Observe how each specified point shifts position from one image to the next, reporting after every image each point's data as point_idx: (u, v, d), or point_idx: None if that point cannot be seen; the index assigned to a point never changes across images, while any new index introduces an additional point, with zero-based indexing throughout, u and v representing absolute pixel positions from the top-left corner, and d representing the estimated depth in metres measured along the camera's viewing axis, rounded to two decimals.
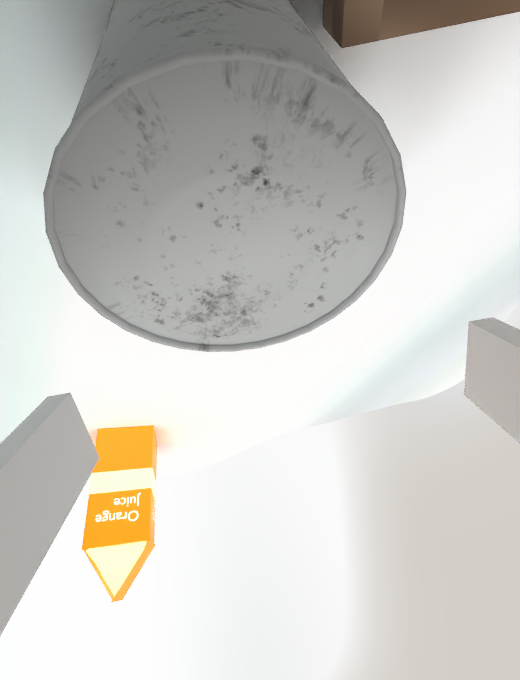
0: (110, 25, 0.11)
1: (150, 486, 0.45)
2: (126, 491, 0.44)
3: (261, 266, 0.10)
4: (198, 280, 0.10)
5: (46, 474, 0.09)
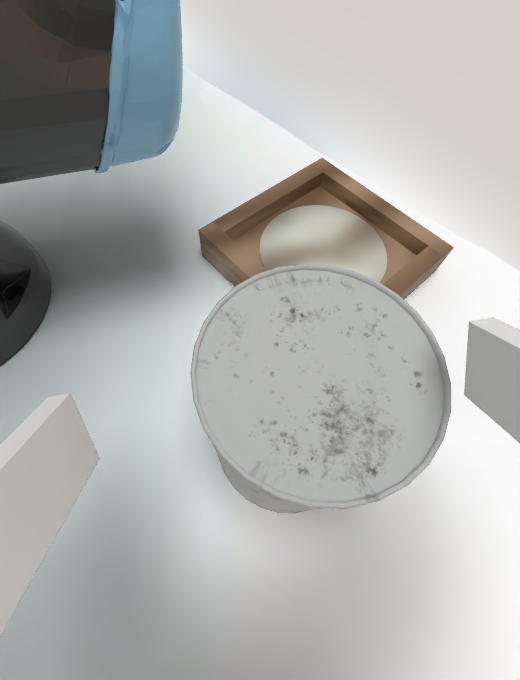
0: None
1: None
2: None
3: (344, 367, 0.13)
4: (308, 403, 0.12)
5: (46, 474, 0.09)
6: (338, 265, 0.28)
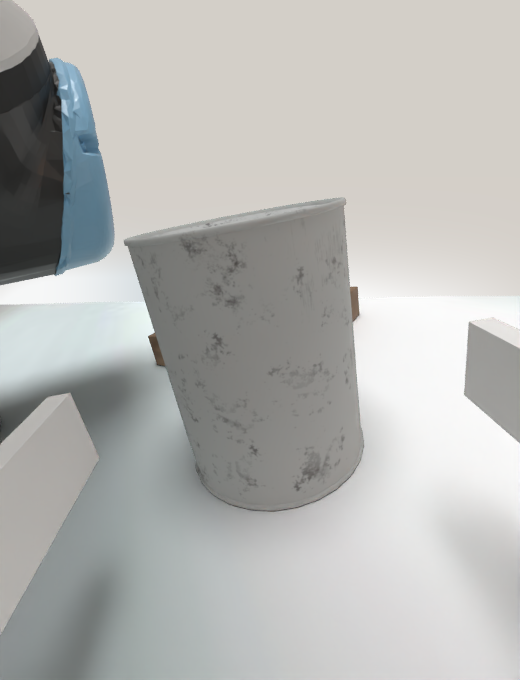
0: None
1: None
2: None
3: None
4: None
5: (46, 474, 0.09)
6: None
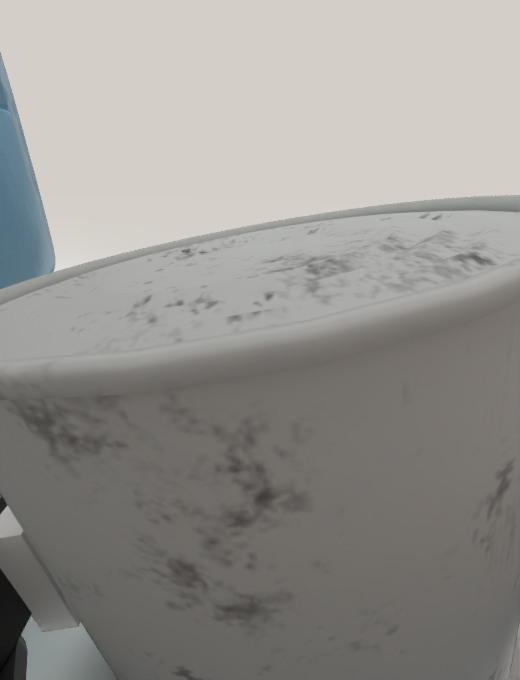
0: None
1: None
2: None
3: (291, 247, 0.07)
4: (234, 275, 0.05)
5: None
6: None
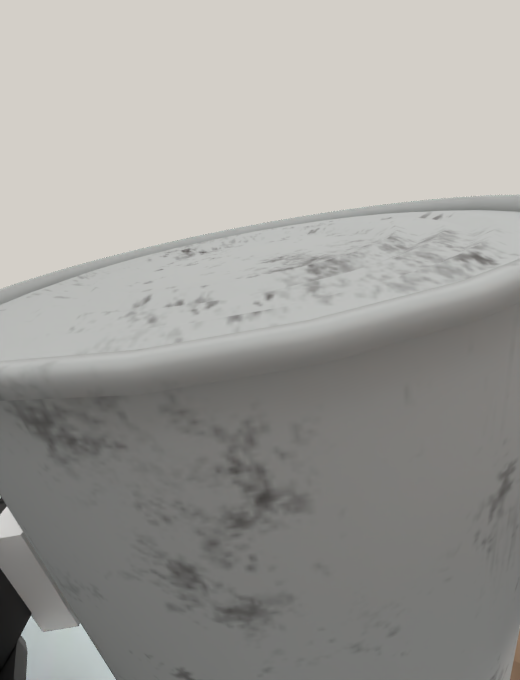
0: None
1: None
2: None
3: (292, 247, 0.07)
4: (234, 275, 0.05)
5: None
6: None
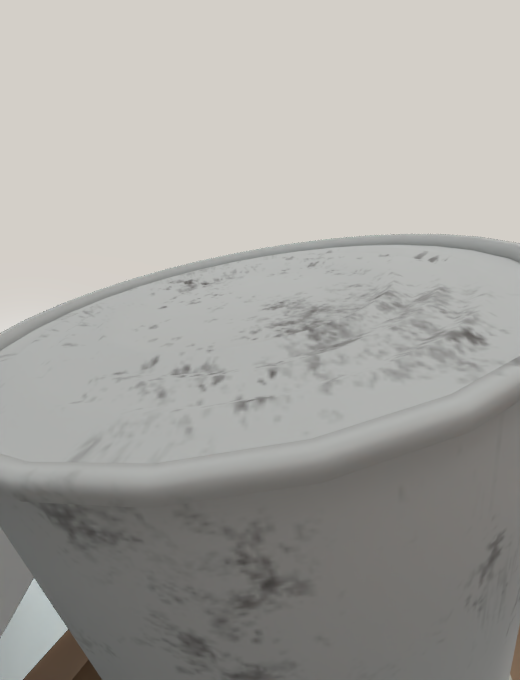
0: None
1: None
2: None
3: (292, 287, 0.07)
4: (237, 326, 0.05)
5: None
6: None
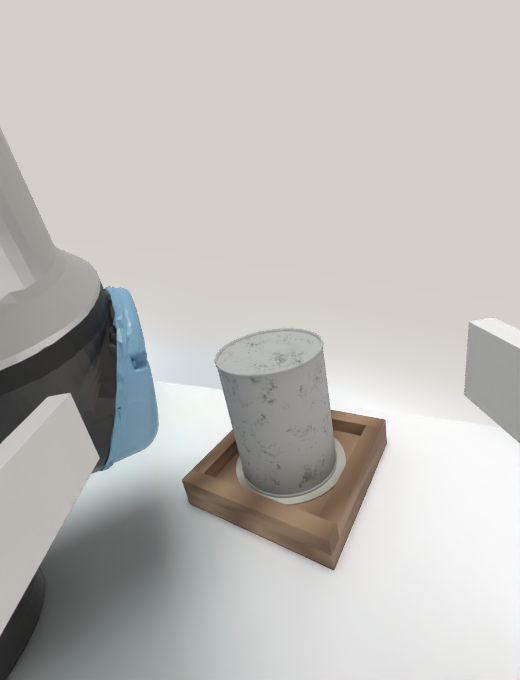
0: None
1: None
2: None
3: (278, 348, 0.30)
4: (267, 358, 0.28)
5: (46, 474, 0.09)
6: None
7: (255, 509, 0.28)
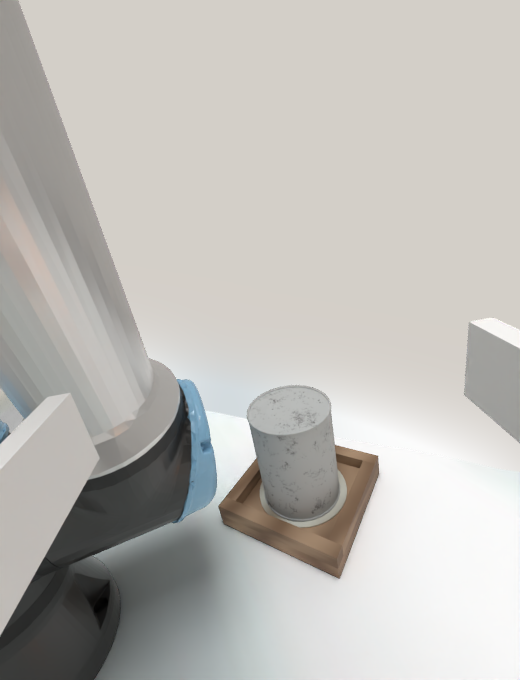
0: None
1: None
2: None
3: (295, 406, 0.39)
4: (288, 417, 0.37)
5: (46, 474, 0.09)
6: None
7: (279, 532, 0.36)
